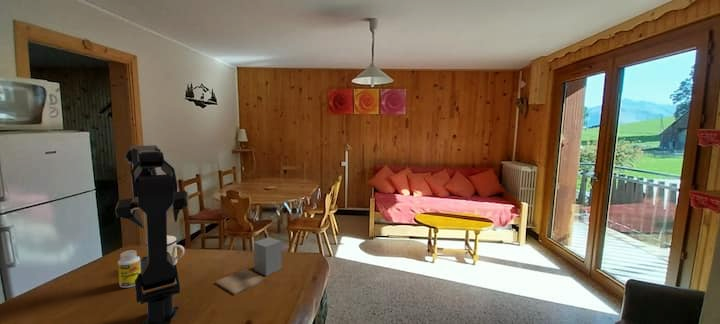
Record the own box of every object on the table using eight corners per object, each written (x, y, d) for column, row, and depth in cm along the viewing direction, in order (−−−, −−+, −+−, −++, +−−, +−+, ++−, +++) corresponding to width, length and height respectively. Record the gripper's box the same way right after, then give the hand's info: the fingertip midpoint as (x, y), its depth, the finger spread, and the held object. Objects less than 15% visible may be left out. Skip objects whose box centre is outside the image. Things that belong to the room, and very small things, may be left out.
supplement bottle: (118, 290, 91) (115, 258, 90) (120, 282, 96) (117, 251, 94) (141, 285, 94) (139, 253, 93) (142, 277, 99) (140, 247, 98)
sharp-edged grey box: (266, 275, 101) (265, 247, 100) (254, 270, 105) (253, 242, 104) (281, 268, 106) (281, 241, 105) (269, 263, 110) (269, 237, 109)
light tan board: (234, 295, 90) (234, 293, 90) (215, 283, 96) (214, 281, 96) (266, 280, 99) (265, 278, 98) (246, 270, 105) (245, 268, 105)
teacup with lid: (141, 271, 103) (139, 238, 102) (158, 259, 112) (156, 228, 111) (177, 271, 104) (175, 238, 102) (191, 259, 113) (189, 229, 111)
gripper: (184, 167, 102) (192, 204, 109) (116, 175, 95) (130, 214, 102) (182, 184, 93) (191, 224, 101) (107, 195, 86) (123, 236, 93)
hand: (160, 224), depth 99 cm, fingers open, 9 cm apart
